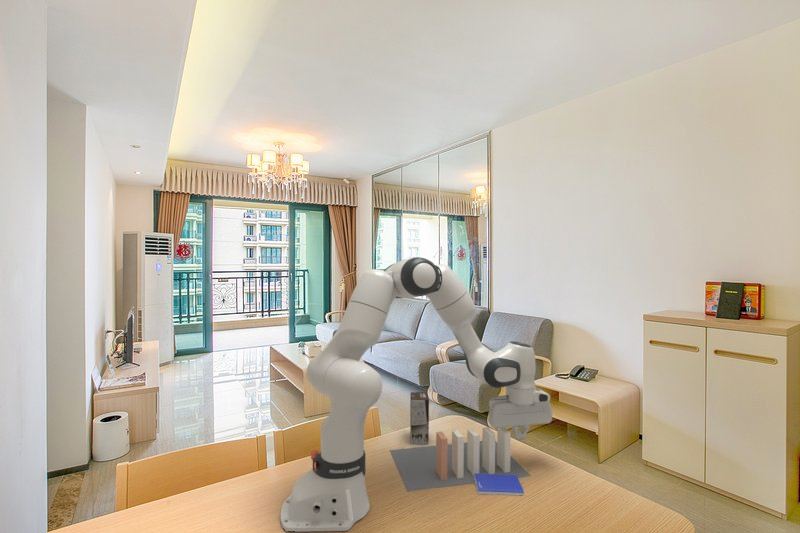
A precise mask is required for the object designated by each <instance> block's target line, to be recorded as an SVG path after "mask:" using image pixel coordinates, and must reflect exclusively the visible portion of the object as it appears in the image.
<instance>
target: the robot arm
mask: <svg viewBox="0 0 800 533" xmlns="http://www.w3.org/2000/svg"><path fill="white" fill-rule="evenodd" d="M424 296H426V298H427V299H428V300H429V301H430V302H431V305H432V307H433V308H434V310H435V311H436V313H437V314H438V316H439V317H440V318H441V320H442V321H443V322H444V323H445V324H446V325H447V327H448V328H449V329H450V330H451V331H452V334H453V335H454V337H455V338H456V341H457V343H458V344H459V346H460V347H461V349H462V352H463V353H464V354H463V355H464V359H465V364H466V368H467V370H468V372H469V373H470V374H471V376H473V377H475V378H477V379H479V380H480V381H482V382H483V383H485V384H487V385H488V386H490V387H491V388H496V389H499V388H504V387H505V394H504V395H495V396H493V397H492V398H490V399H489V401H488V408H489V410H488V416H487V417H488V418H487V421H488V422H487V423H488V424H489V425H490V426H491V427H492V428H494V429H497V428H502V427H505V428H511V429H512V431H513V433H514V434H513V435H514V436H513V437H514V439H515V440H516V441H517V440H526V438H527V436H526V435H527V433H528V431H529V430H530V426H533V425H534V426H535V425H543V424H550V423H551V422H552V421H553V407H552V403H551V402H550V401H551V395H550V394H549V393H548V392H546V391H544V390H542V389H540V388H537V387H536V383H535V376H536V371H537V370H536V354H535V351H534V348H533V346H532V345H530V344H527V343H523V342H520V341H514V340H513V341H509V342H508V343H507V344H506V346H504V347H503V348H501V349H499V350H497V351H493V350H491V349H489V348H488V347H487V346H485V345H484V344H482V342H481V339H480V338H479V337H478V335H477V332H476V331H475V330H474V328H473V325H472V322H471V321H472V320H473V319H474V317H475V314H476V305H475V304H474V301H473V298H472V297H471V294H470V292H469V291H468V289H467V288H466V286H465V284H464V283H463V282H462V279H460V278H459V276H458V275H457V274H456V273H455V272H454V271H453V270H452V268H451V267H449V265H447V264H445V263H444V264H441V263H439V264H435V263H434V262H433V261H431V260H429V259H427V258H424V257H420V256H419V257H418V256H417V257H412V258H407V259H402V260H399V261H397V262H395V263H392V264H389V265H388V266H387V267H386V268H384V270H382V269H379V268H376V269H374V268H372V269H368V270H366V271H365V272H364V273H363V274H362V275H361V276H360V278H359V280H358V282H357V284H356V286H355V287H354V289H353V291H352V294H351V296H350V299H349V301H348V303H347V306H346V308H345V311H344V314H343V316H342V318H341V320H340V323H339V326H338V328H337V330H336V331H335V333H334V335H333V336H332V338H331V339H330V341H329V342H328V343H327V345H326V346H325V348H323V350H322V351H321V352H319V353H318V354H316V355H315V356H313V357H312V359H311V360H310V361H309V363H308V364H307V368H306V378H307V380H308V383H309V384H310V385H311V386H312V387H313V388H314V389H315V391H317V393H320V394H322V395H324V396H326V397H328V398H329V399H330V409H329V410H330V411H329V413H328V416H327V417H326V418H325V419H323V420H322V422H321V425H320V452H319V451H318V450H315V449H314V450H312V451H311V452H310V459H311V460H312V468H311V469H310V470H308V471H307V472H306V473H305V474H303V475H302V476H300V477H299V478H298V479H297V480H296V481H295V483H294V484H293V487H292V488H291V492H290V495H289V496H288V497H287V498H286V499H285V500H284V501H283V503H282V505H281V509H280V515H279V516H280V518H279V521H280V525H281V527H282V529H283V528H284V529H285V532H288V531H295V532H304V533H305V532H347V531H349V530H351V528H352V527H353V526H354V524H355V523H357V522H358V521H360V520H362V519H363V518H365V516H366V515H367V514H368V513H369V511H370V507H371V502H370V500H369V495H368V492H367V485H366V484H367V483H366V478H365V475H366V469H367V457H366V451H365V445H364V444H365V424H366V418H367V414H368V412H369V410H370V408H371V407H372V406H374V405H375V404H376V403H377V402H378V400H379V399H380V397H381V394H382V391H383V379H382V377H381V375H380V373H379V372H378V371H377V370H375V369H374V368H373V367H371V366H370V365H369V364H367V363H365V362H363V361H360V360H361V359H362V357H363V356H364V354H365V353H366V352H367V351H368V350H369V349H370V348H373V346H375V345H376V344H377V343H378V342H379V340H380V337H381V334H382V332H383V329H384V326H385V324H386V323H385V322H386V320H387V318H388V315H389V311H390V307H391V305H392V303H393V301H394V300H395V299H414V298H418V297H424ZM521 426H522V429H521V430H520V431H518V430H519V427H521ZM284 529H283V530H284Z"/></svg>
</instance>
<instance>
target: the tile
mask: <svg viewBox="0 0 800 533" xmlns="http://www.w3.org/2000/svg"><path fill="white" fill-rule="evenodd" d="M435 434H436V435H435V436H436V437H435V439H436V440H435V442H436V444H435V446H436V472H437V474H438V475H439V477H440V479H441V480H447V444H448V437H447V436H446V435H445V433H444V432H443V431H436V432H435Z"/></svg>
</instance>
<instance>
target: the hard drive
mask: <svg viewBox="0 0 800 533" xmlns="http://www.w3.org/2000/svg"><path fill="white" fill-rule="evenodd" d="M474 481H475V483H474V484H475V488H476V493H477V495H490V496H491V495H494V496H525V491H524V488H523V486H522V483H521V482H520V481H521V480H519V478H518V477H517V475H502V474H479V473H474Z"/></svg>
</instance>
